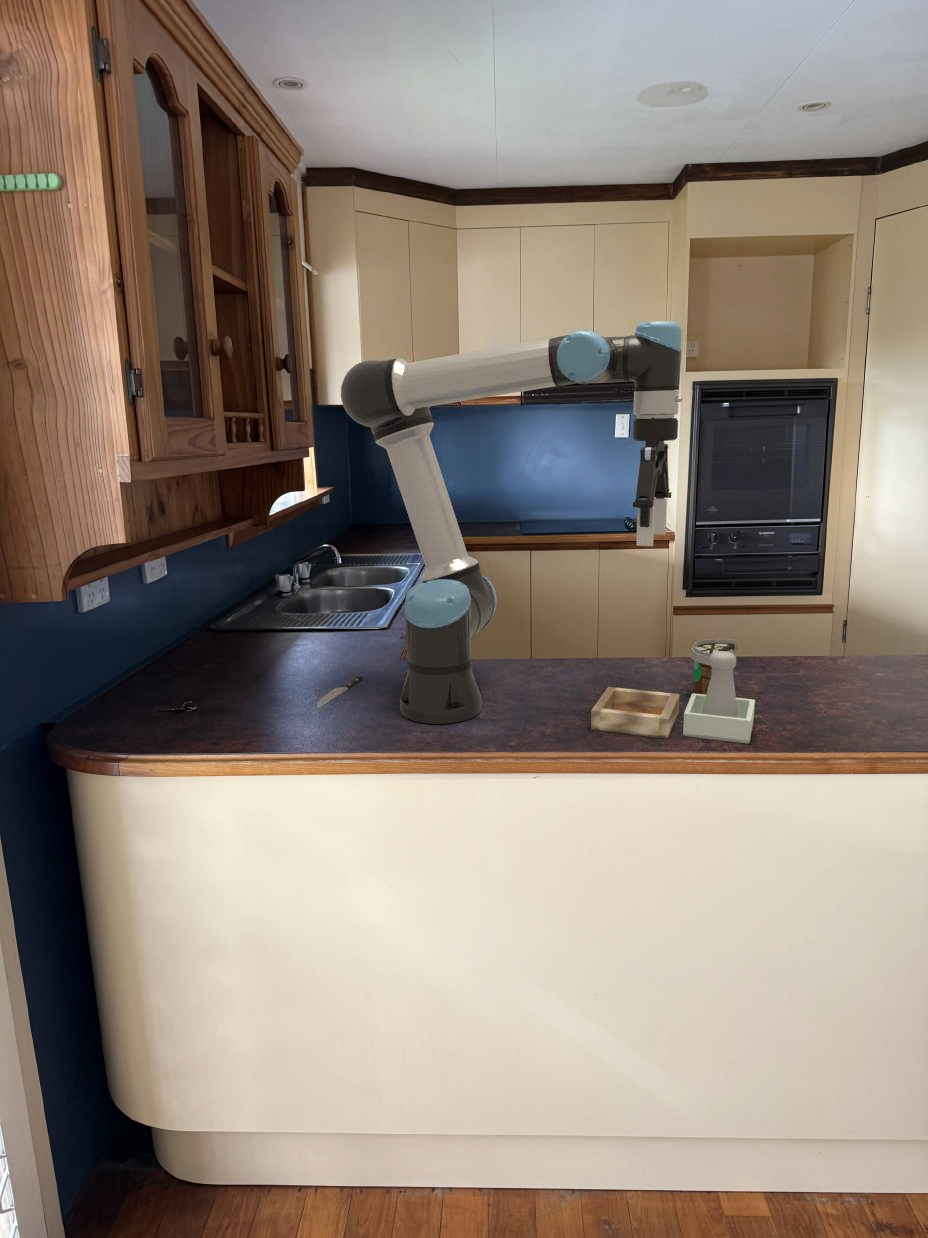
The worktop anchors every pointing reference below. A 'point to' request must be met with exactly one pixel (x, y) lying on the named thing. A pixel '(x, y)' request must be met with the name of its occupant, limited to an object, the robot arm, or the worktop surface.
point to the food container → (707, 660)
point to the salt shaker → (721, 686)
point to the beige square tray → (635, 721)
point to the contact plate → (637, 709)
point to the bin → (719, 721)
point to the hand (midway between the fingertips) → (651, 539)
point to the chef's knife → (337, 692)
